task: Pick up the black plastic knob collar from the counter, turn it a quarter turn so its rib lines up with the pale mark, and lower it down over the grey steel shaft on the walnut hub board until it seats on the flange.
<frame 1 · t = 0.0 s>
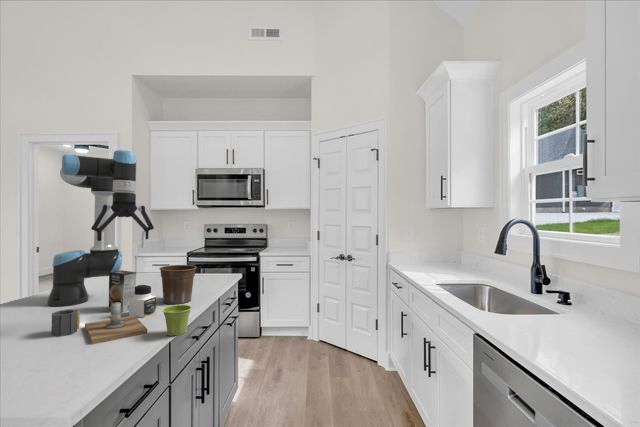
hand: (123, 249, 127), 28 cm above the countertop, fingers open, 13 cm apart
coffee box: (122, 309, 146), on the countertop
medicine bottle: (142, 315, 139), on the countertop
plant pot 2: (176, 333, 118), on the countertop
plant pot: (177, 301, 160), on the countertop
knob: (64, 332, 117), on the countertop
hub board: (115, 330, 120), on the countertop
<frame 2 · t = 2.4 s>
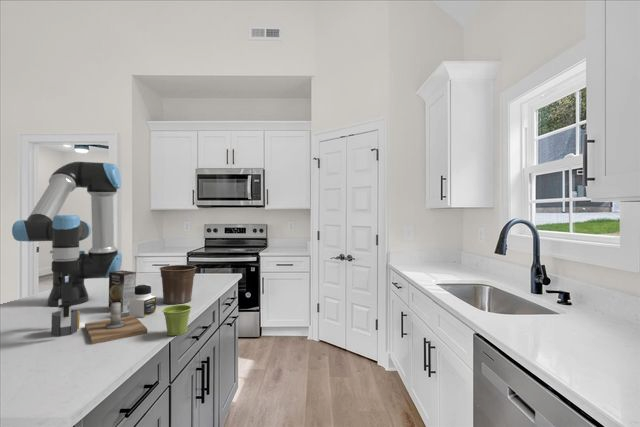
hand: (64, 321, 117), 4 cm above the countertop, fingers open, 13 cm apart
nothing on the countertop moved.
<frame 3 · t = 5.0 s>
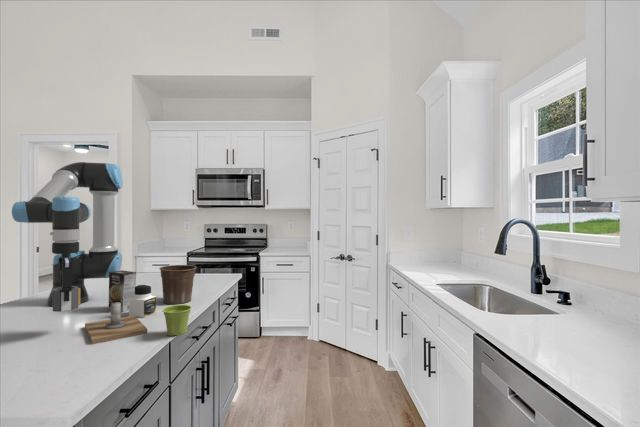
hand: (65, 307, 117), 9 cm above the countertop, fingers closed on knob, 7 cm apart
knob: (65, 308, 117), point 8 cm above the countertop, touching gripper
everything else where it was.
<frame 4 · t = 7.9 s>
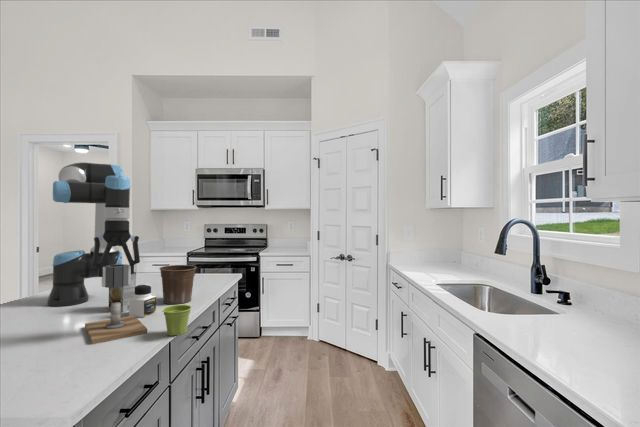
hand: (116, 284, 120), 16 cm above the countertop, fingers closed on knob, 7 cm apart
knob: (116, 285, 120), point 16 cm above the countertop, touching gripper
everything else where it was.
when the fingers open (3 cm above the countertop, at t = 11.0 s): knob stays where it is, resting on hub board.
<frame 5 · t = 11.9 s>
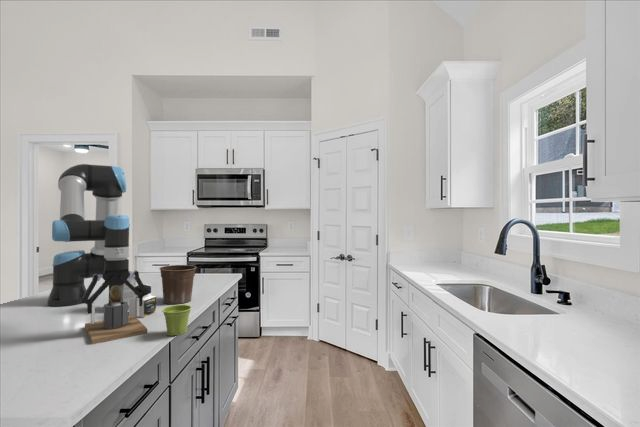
hand: (115, 319, 120), 4 cm above the countertop, fingers open, 13 cm apart
knob: (115, 324, 120), point 2 cm above the countertop, touching hub board
everything else where it was.
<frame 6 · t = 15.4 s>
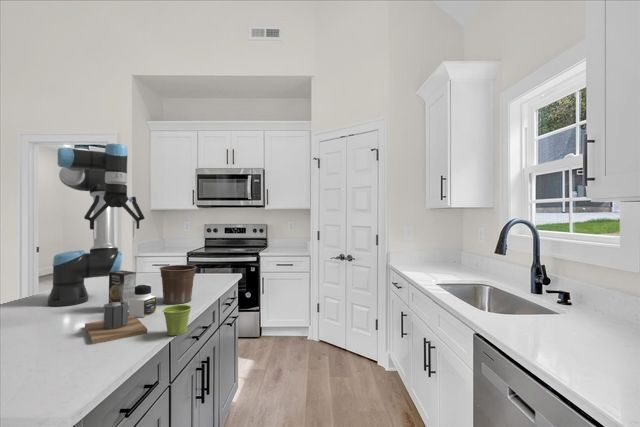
hand: (115, 237, 133), 32 cm above the countertop, fingers open, 13 cm apart
nothing on the countertop moved.
at the end: knob 0.1 cm off-centre on the hub board, point 2.3 cm above the hub board's base; knob tilted 0°; the gripper is holding nothing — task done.
